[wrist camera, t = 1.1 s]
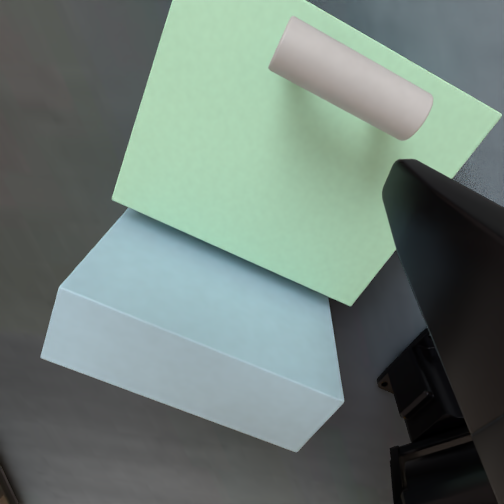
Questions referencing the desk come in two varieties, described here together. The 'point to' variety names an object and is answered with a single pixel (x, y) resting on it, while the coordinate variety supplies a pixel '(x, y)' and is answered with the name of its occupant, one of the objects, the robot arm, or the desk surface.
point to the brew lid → (287, 137)
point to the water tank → (199, 332)
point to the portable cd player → (6, 490)
